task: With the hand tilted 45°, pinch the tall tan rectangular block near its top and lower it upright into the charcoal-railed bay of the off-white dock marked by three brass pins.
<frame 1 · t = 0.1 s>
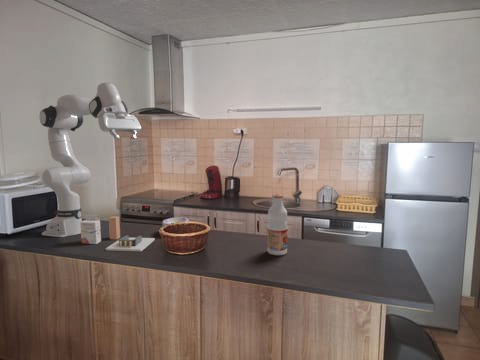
hand: (126, 139, 145), 54 cm above the counter, tool tilted 30°, fingers open, 8 cm apart
paper bowls: (176, 233, 181), on the counter
tall tan rectangular block: (115, 238, 172), on the counter
ink cartridge box: (91, 242, 165), on the counter
fruit juice: (277, 252, 150), on the counter
cartridge dock: (131, 244, 161), on the counter
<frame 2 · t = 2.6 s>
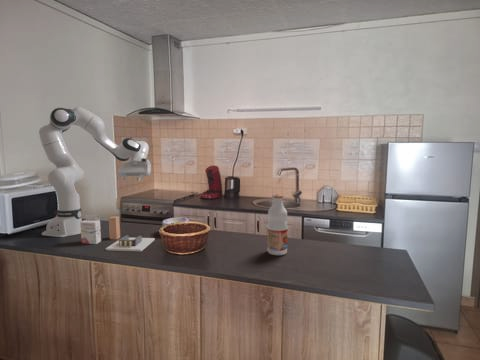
hand: (130, 180, 189), 30 cm above the counter, tool tilted 45°, fingers open, 8 cm apart
nothing on the counter moved.
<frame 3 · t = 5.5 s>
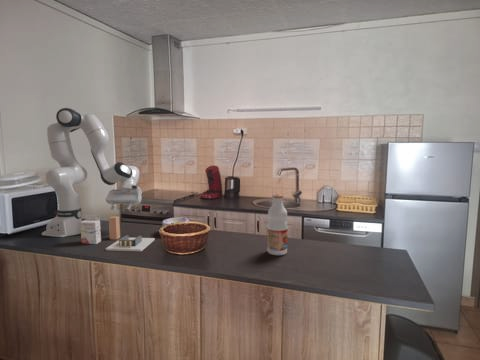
hand: (120, 209, 177), 15 cm above the counter, tool tilted 45°, fingers open, 8 cm apart
nothing on the counter moved.
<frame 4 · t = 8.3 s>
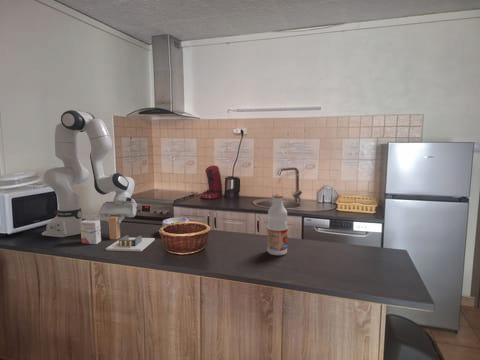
hand: (113, 222, 170), 9 cm above the counter, tool tilted 45°, fingers closed on tall tan rectangular block, 4 cm apart
tall tan rectangular block: (115, 238, 172), on the counter, touching gripper
everything else where it was.
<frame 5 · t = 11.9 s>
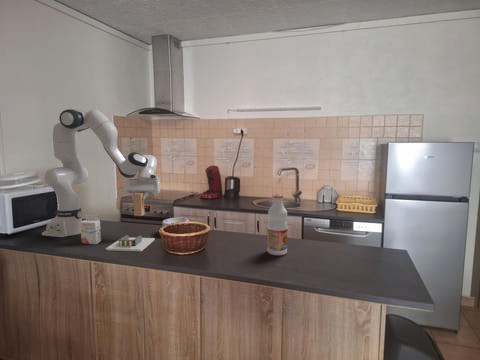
hand: (138, 199, 169), 22 cm above the counter, tool tilted 45°, fingers closed on tall tan rectangular block, 4 cm apart
tall tan rectangular block: (139, 215, 171), point 13 cm above the counter, touching gripper
everything else where it was.
when the fingers open (11 cm above the counter, at t = 15.3 s): tall tan rectangular block drops 1 cm, resting on cartridge dock.
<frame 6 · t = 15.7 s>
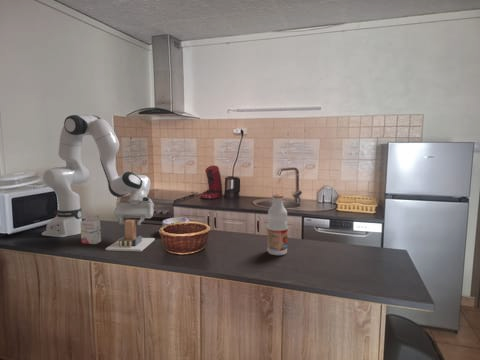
hand: (129, 224, 159), 11 cm above the counter, tool tilted 45°, fingers open, 8 cm apart
tall tan rectangular block: (131, 242, 161), point 1 cm above the counter, touching cartridge dock
everything else where it was.
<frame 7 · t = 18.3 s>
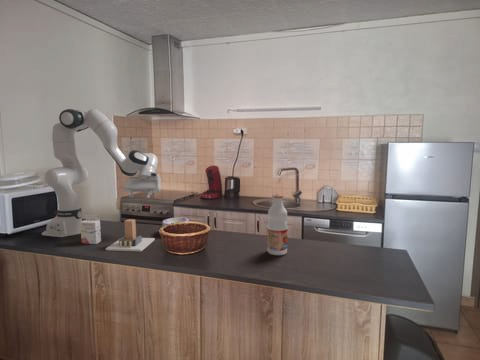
hand: (139, 197, 170), 23 cm above the counter, tool tilted 45°, fingers open, 8 cm apart
nothing on the counter moved.
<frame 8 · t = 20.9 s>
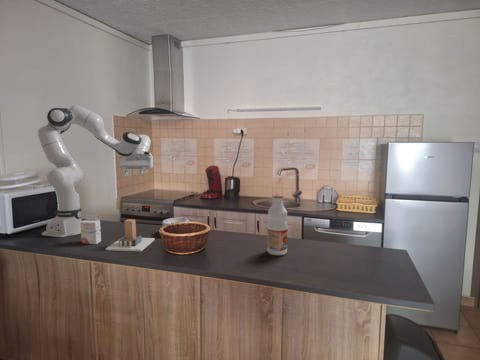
hand: (133, 173, 185), 34 cm above the counter, tool tilted 45°, fingers open, 8 cm apart
nothing on the counter moved.
at the end: tall tan rectangular block 0.2 cm off-centre on the cartridge dock, point 1.0 cm above the cartridge dock's base; tall tan rectangular block tilted 0°; the gripper is holding nothing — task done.
